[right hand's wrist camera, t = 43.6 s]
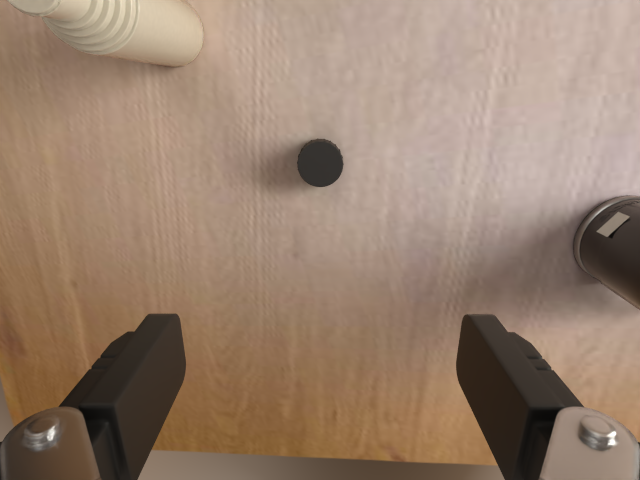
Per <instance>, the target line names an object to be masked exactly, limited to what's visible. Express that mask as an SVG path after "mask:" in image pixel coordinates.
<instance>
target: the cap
mask: <svg viewBox="0 0 640 480" xmlns="http://www.w3.org/2000/svg"><path fill="white" fill-rule="evenodd" d="M298 157H299V158H298V162H297V164H298V170H299V173H300V175H301V177H302V178H303V179H304V180H305V181H306V182H307V183H308V184H310V185H313V186H316V187H325V186H328V185H330V184H332V183H334V182H335V181H336V180H337V179H338V178H339V176H340V175H341V172H342V169H343V160H342V159H343V157H342V155H341V153H340V149H338V148H337V146H336V144H333V143H332V142H331V141H328V140H325V139H316V140H313V141H312V140H311V141H310V142H309V143H307V144H306V145H305V146H304V147H303V148H302V149H301V152H300V154H299V156H298Z"/></svg>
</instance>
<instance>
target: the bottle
mask: <svg viewBox="0 0 640 480" xmlns="http://www.w3.org/2000/svg"><path fill="white" fill-rule="evenodd" d="M7 1H8V2H9V3H10V4H11V5H13V6H14V7H15V8H17V9H18V10H20V11H21V12H22V13H25V14H28V15H30V16H36V17H42V19H43V21H44V22H45V23H46V25H47V26H48V28H49V29H50V30H51V31H52V32H53V33H54V34H55V35H56V36H57V37H58V38H59V39H61V40H62V41H63V42H65V43H67V44H68V45H69V46H71V47H73V48H74V49H76V50H79V51H81V52H84V53H87V54H93V55H99V56H105V57H112V58H118V59H125V60H131V61H138V62H144V63H151V64H157V65H164V66H170V67H180V66H184V65H186V64H189V63H190V62H192V61H193V60H194V59H195V58H196V57H197V55H198V54H199V52H200V50H201V48H202V44H203V27H202V23H201V20H200V18H199V16H198V14H197V12H196V11H195V10H194V8H193V7H192V6H191V5H190V4H189V3H188V2H186V1H185V0H7Z"/></svg>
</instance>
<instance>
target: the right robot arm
mask: <svg viewBox="0 0 640 480" xmlns="http://www.w3.org/2000/svg"><path fill="white" fill-rule="evenodd" d="M574 255H575V259H576V261H577V263H578V264H579V266H580V267H581V268H582V269H583V270H584V271H585V272H586V273H588V274H589V275H591V276H592V277H594V278H596V279H598V280H600V281H601V284H603V285H604V286H606V287H607V288H608V289H610V290H611V291H613V292H614V293H616V294H617V295H619V296H620V297H622V298H623V299H624V300H626V301H627V302H629V303H630V304H632V305H633V306H635V307H636V308H638V309H639V310H640V196H621V197H617V198H614V199H611V200H608V201H606V202H604V203H602V204H601V205H599V206H598V207H596V208H595V209H594V210H593V211H591V212H590V213H589V214H588V215H587V216H586V218H585V219H584V220H583V222H582V223H581V225H580V226H579V228H578V230H577V233H576V235H575V239H574ZM185 370H186V359H185V352H184V345H183V338H182V330H181V323H180V318H179V316H178V315H177V314H148V315H147V316H146V317H145V319H144V320H143V321H142V323H141V324H140V325H139V327H138V328H137V329H136V330H135V332H127V333H125V334H124V335H122V336H121V337H119V338H118V339H116V340H115V341H113V342H112V343H111V344H110V345H109V346H108V347H107V349H106V350H105V351H104V352H103V353H102V355H101V358H98V360H97V361H96V362H95V363H94V364H93V366H92V369H89V370H88V372H87V373H86V374H85V375H84V376H83V378H82V379H81V380H80V381H79V383H78V384H77V385H76V386H75V387H74V389H73V390H72V391H71V392H70V393H69V395H68V396H67V397H66V398H65V400H64V401H63V402H62V403H61V404H60V406H59V407H55V408H51V409H47V410H44V411H41V412H39V413H36V414H34V415H32V416H30V417H28V418H26V419H25V420H23V421H22V422H20V423H19V424H18V425H16V426H15V427H14V428H13V429H12V430H11V431H10V432H9V433H8V434H7V435H6V437H5V438H4V440H3V441H2V442H0V480H137V479H138V477H139V475H140V473H141V471H142V468H143V466H144V464H145V462H146V460H147V458H148V456H149V453H150V451H151V449H152V447H153V445H154V443H155V441H156V439H157V436H158V434H159V432H160V430H161V428H162V426H163V424H164V422H165V419H166V417H167V415H168V413H169V411H170V409H171V407H172V404H173V402H174V400H175V398H176V396H177V394H178V392H179V390H180V387H181V385H182V383H183V380H184V376H185ZM456 370H457V377H458V381H459V384H460V386H461V388H462V390H463V392H464V394H465V396H466V399H467V401H468V403H469V405H470V407H471V409H472V411H473V413H474V415H475V418H476V420H477V422H478V424H479V426H480V428H481V430H482V432H483V434H484V436H485V439H486V441H487V443H488V445H489V447H490V449H491V451H492V453H493V455H494V458H495V460H496V462H497V464H498V466H499V468H500V470H501V472H502V474H503V476H504V479H505V480H640V442H637V440H636V438H635V437H634V435H633V434H632V433H631V432H630V431H629V430H628V429H627V428H626V427H625V426H624V425H622V424H621V423H620V422H618V421H617V420H615V419H614V418H612V417H610V416H608V415H606V414H604V413H601V412H599V411H596V410H593V409H589V408H585V407H584V406H583V405H582V404H581V403H580V402H579V400H578V399H577V398H576V397H575V396H574V394H573V393H572V392H571V391H570V390H569V388H568V387H567V386H566V385H565V384H564V382H563V381H562V380H561V379H560V378H559V376H558V375H557V374H556V373H555V372H554V370H551V367H550V365H549V364H548V363H547V362H546V361H545V359H542V356H541V355H540V353H539V352H538V351H537V350H536V349H535V347H534V346H533V345H532V344H531V343H530V342H528V341H527V340H525V339H524V338H522V337H521V336H519V335H518V334H516V333H515V332H507V331H506V329H505V328H504V327H503V325H502V324H501V323H500V321H499V320H498V319H497V318H496V316H494V315H492V314H467V315H465V316H464V317H463V320H462V325H461V332H460V339H459V346H458V353H457V360H456Z"/></svg>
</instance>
